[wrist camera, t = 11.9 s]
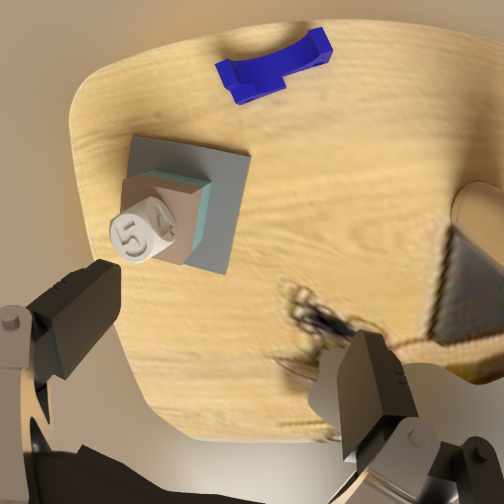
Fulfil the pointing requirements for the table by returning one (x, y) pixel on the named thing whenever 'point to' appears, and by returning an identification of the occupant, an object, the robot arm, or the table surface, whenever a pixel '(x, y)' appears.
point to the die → (142, 230)
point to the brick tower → (190, 196)
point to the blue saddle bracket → (273, 67)
